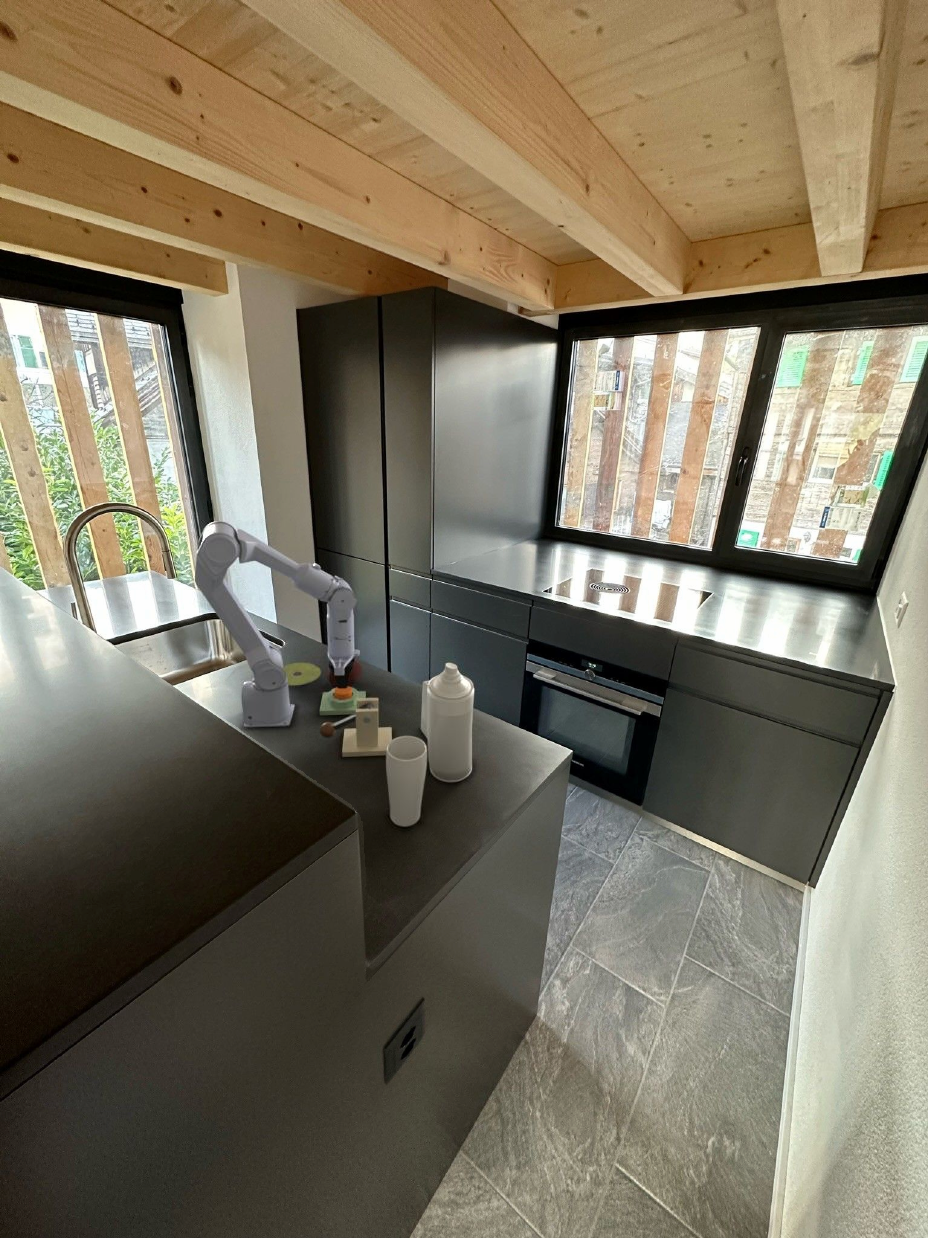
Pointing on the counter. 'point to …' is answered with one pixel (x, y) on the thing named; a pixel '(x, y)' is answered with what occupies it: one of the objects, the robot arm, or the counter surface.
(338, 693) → the button
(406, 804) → the drinking glass
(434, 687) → the spray can
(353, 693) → the control block
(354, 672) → the potato
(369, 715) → the bracket
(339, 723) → the lever
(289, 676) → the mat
